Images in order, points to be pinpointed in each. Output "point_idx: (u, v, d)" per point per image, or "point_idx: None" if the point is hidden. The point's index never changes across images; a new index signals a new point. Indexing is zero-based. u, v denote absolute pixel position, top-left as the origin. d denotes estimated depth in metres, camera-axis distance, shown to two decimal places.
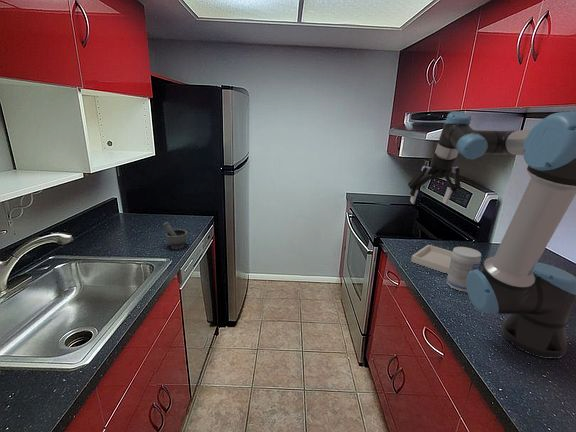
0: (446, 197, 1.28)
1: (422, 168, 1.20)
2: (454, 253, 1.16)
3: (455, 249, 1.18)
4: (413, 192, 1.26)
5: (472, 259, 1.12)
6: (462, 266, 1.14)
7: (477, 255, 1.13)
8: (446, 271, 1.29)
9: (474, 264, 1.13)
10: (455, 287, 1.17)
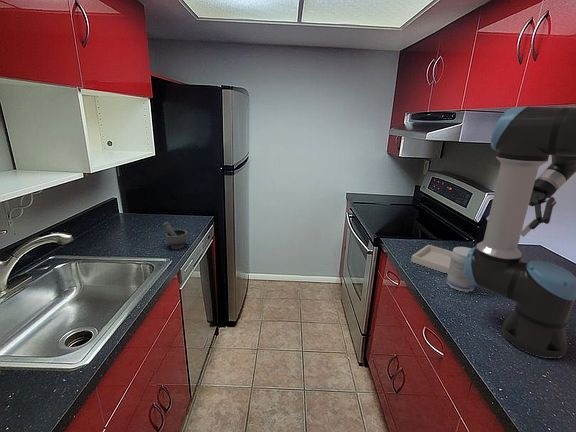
0: None
1: None
2: (454, 253, 1.16)
3: (455, 249, 1.18)
4: None
5: None
6: (462, 266, 1.14)
7: None
8: (446, 271, 1.29)
9: None
10: (455, 287, 1.17)
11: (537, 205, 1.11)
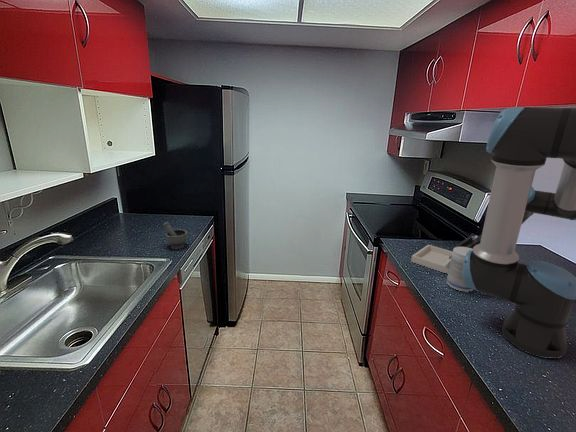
0: None
1: None
2: (454, 253, 1.16)
3: (455, 249, 1.18)
4: None
5: None
6: (462, 266, 1.14)
7: None
8: (446, 271, 1.29)
9: None
10: (455, 287, 1.17)
11: None
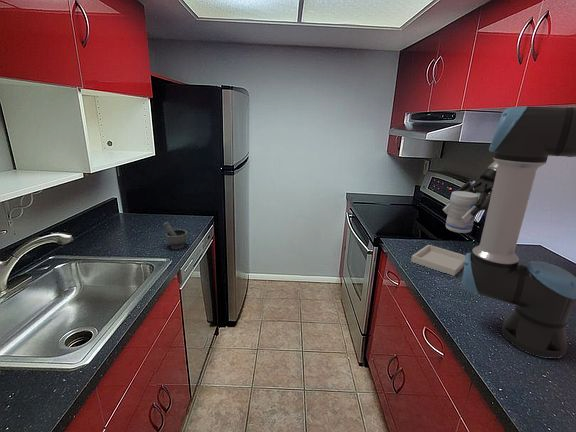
0: None
1: None
2: (452, 195, 1.22)
3: (453, 192, 1.24)
4: None
5: (469, 199, 1.18)
6: (460, 207, 1.20)
7: (474, 196, 1.19)
8: (446, 271, 1.29)
9: (471, 204, 1.19)
10: (453, 228, 1.23)
11: (482, 193, 1.20)
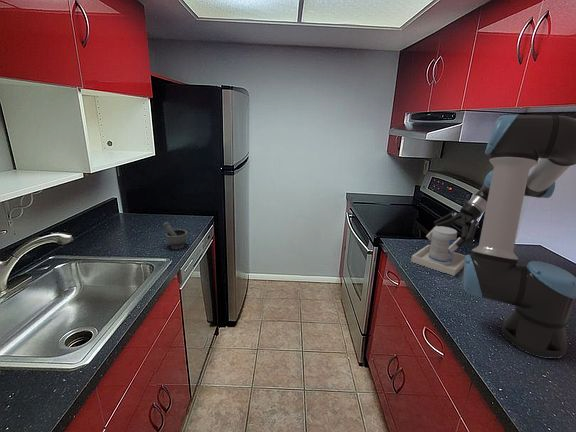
0: None
1: None
2: (434, 231, 1.35)
3: (435, 228, 1.37)
4: (433, 228, 1.43)
5: (449, 236, 1.31)
6: (441, 242, 1.33)
7: (453, 232, 1.32)
8: (446, 271, 1.29)
9: (450, 240, 1.31)
10: (435, 260, 1.36)
11: (464, 226, 1.31)
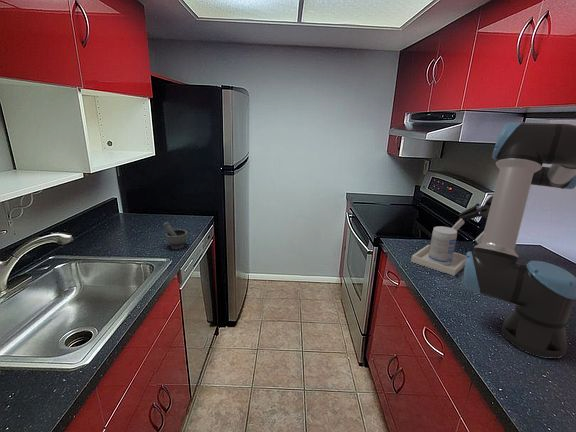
0: None
1: None
2: (434, 231, 1.35)
3: (435, 228, 1.37)
4: (458, 220, 1.45)
5: (449, 236, 1.31)
6: (441, 242, 1.33)
7: (453, 232, 1.32)
8: (446, 271, 1.29)
9: (450, 240, 1.31)
10: (435, 260, 1.36)
11: None
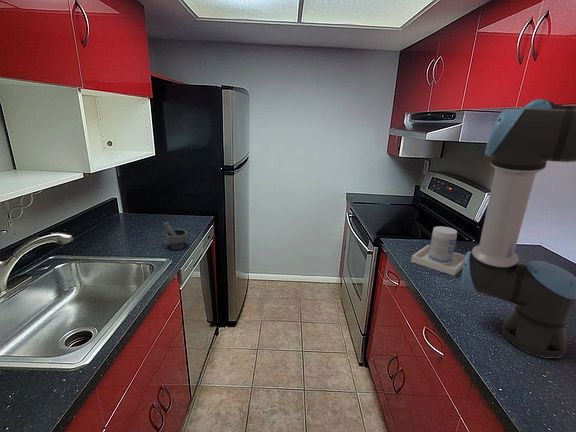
0: None
1: None
2: (434, 231, 1.35)
3: (435, 228, 1.37)
4: None
5: (449, 236, 1.31)
6: (441, 242, 1.33)
7: (453, 232, 1.32)
8: (446, 271, 1.29)
9: (450, 240, 1.31)
10: (435, 260, 1.36)
11: None
